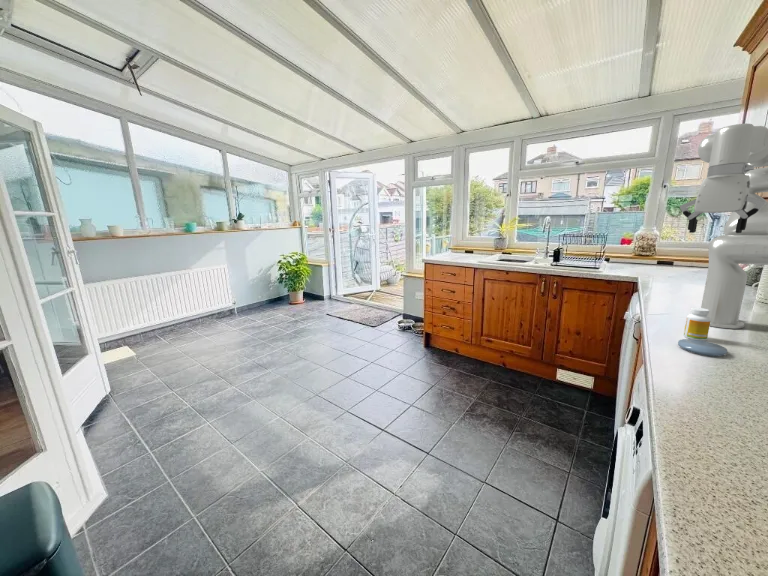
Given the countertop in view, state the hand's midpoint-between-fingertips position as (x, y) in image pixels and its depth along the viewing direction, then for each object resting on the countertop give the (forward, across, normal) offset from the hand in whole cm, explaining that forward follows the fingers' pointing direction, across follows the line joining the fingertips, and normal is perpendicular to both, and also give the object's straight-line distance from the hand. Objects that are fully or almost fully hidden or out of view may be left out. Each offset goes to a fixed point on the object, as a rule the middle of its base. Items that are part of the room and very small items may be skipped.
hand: (714, 232), depth 92 cm
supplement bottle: (+34, 0, -1) cm, 34 cm away
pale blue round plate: (+34, -4, +10) cm, 35 cm away
